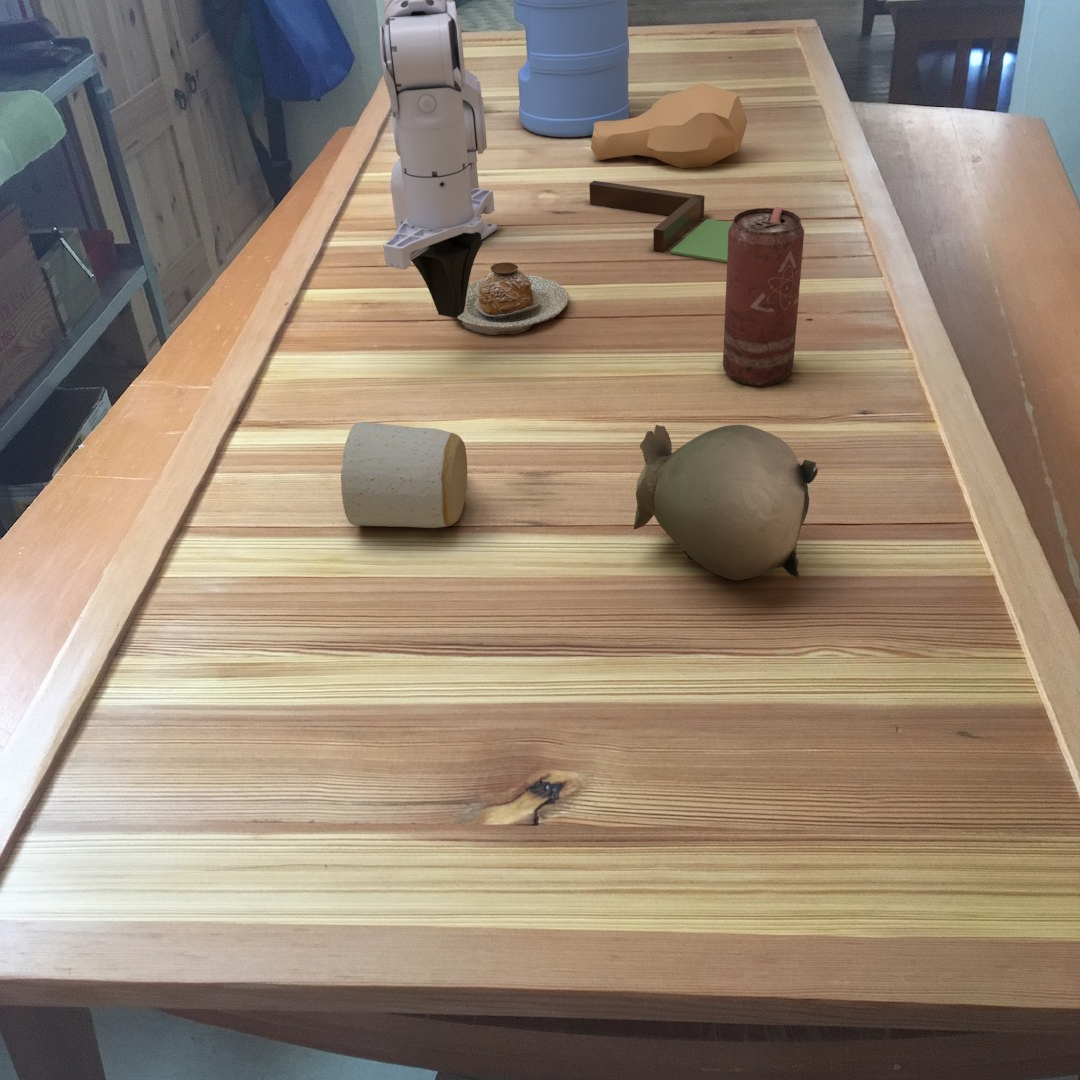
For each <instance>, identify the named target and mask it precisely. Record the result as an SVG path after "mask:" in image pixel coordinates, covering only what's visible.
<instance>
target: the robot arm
mask: <svg viewBox="0 0 1080 1080" xmlns="http://www.w3.org/2000/svg"><path fill="white" fill-rule="evenodd" d="M383 10H384V11H383V12H384V26H383V24H380V25H379V35H378V37H379V38H378V39H379V50H380V51H379V52H380V61H381V68H382V74H383V79H384V82H385V85H386V90H387V93H388V96H389V100H390V101H389V102H390V107H391V119H392V128H393V137H394V138H393V139H394V144H395V151H396V154H397V156H398V157H399V158H398V159H397V160H396V162H395V164H394V165H393V168H392V171H391V175H390V193H391V200H392V208H393V214H394V216H393V217H394V222H395V229H396V232H395V233H394V235H393V236H392V238H390V239H389V240H388V241H387V242H386V243H384V244H383V252H384V260H385V266H386V267H389V268H393V269H400V270H407V269H408V268H410V267H411V266H412V264H413V265H414V267H415V269H417V270H418V272H419V274H420V276H421V277H422V279H423V281H424V283H425V286H426V287H427V289H428V291H429V294H430V296H431V298H432V302H433V304H434V307H435V309H436V311H437V314H438V315H439V316H443V317H448V318H453V319H458V318H457V317H458V316H459V315H461V314H462V313H464V308H465V302H466V296H467V289H468V284H469V283H470V277H471V272H472V269H473V267H474V266H473V265H474V263H475V260H476V257H477V255H478V253H479V251H480V248H481V246H482V244H483V240H484V239H485V238H487V237H488V236H490V235H491V234H493V233H494V232H496V231H497V230H498V224H496V223H489V222H484V219H483V218H482V215H490V214H492V213H494V212H495V199H494V190H489V189H485V188H484V189H483V188H480V187H479V175H478V164H477V163H478V155H482V154H484V152H485V151H486V149H487V147H488V143H487V131H486V130H487V129H486V119H485V106H484V98H483V97H482V86H481V82H480V81H479V80H478V76H476V75H475V74H474V73H472V72H470V71H469V70H468V69H466V67H465V66H466V65H465V58H464V45H463V35H462V33H463V32H462V25H461V22H460V18H459V16H458V12H457V6H456V1H455V0H383Z"/></svg>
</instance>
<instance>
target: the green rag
mask: <svg viewBox="0 0 1080 1080" xmlns="http://www.w3.org/2000/svg"><path fill="white" fill-rule="evenodd" d="M732 223H733V222H730V221H724V220H723V221H722V220H717V219H709V218H706V219H705V220H704V221H703V222H701V223H699V225H698V226H697V227H696V228H694V229H693V230H692V231H691V232H690V233H689V234H688V235H687V236H685V238H683V239H682V240H681V241H680V242H679V243H677V245H676V246H674V247H673V248H672V249H671V250H670V252H669V253H670V254H671V255H677V256H683V257H687V258H695V259H702V260H708V261H714V262H720V263H725V264H727V254H728V230H729V228H730V226H731V224H732Z"/></svg>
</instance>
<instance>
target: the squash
mask: <svg viewBox="0 0 1080 1080" xmlns="http://www.w3.org/2000/svg"><path fill="white" fill-rule="evenodd" d="M747 125H748V119H747V116H746V112H745V110H744V108H743V103H742V101H741V99H740V96H739V94H738V93H737V92H734V91H731V90H727V89H723V88H719V87H717V86H712V85H710V84H706V83H703V82H702V83H699V84H697V85H694V86H692V87H689V88H687V89H684V90H681V91H676V92H672V93H668V94H664V95H663V96H662V97H660V98H659V99H658V100H657V101H656V102H654V103H653V104H652V106H651V107H650V108H649V110H647V111H645V112H643V113H642V114H640V115H638V116H636V117H631V118H630V117H629V118H628V119H623V120H617V121H599V122H596V123H594V131H593V135H591V143H590V149H591V151H592V153H593V155H594V157H595V158H596V160H598V161H604V160H609V159H614V158H619V157H629V156H630V157H631V156H642V157H650V158H655V159H657V160H659V161H660V162H663V163H665V164H668V165H671V166H674V167H678V168H681V169H688V168H706V167H710V166H711V165H713V164H716V163H717V162H719V161H721V160H723V159H725V158H727V157H729V156H731V155H733V154H734V153H736V152H737V151H738V150H740V148H741V146H742V143H743V139H744V135H745V132H746V128H747Z"/></svg>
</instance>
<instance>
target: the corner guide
mask: <svg viewBox="0 0 1080 1080" xmlns="http://www.w3.org/2000/svg"><path fill="white" fill-rule="evenodd" d="M588 186H589V205H592V206H600V207H606V208H614V209H620V210H621V209H622V210H628V211H634V212H640V213H641V212H642V213H648V214H655V215H661V216H667V217H666V218H665V219H664V220H663V221H661V222H660V223H659V224H658V225H656V226H655V227H654V228H653V248H652V249H653V252H659V253H665V252H666V251H667V250H668V249H669V248H670V247H671V246H672V245H674V244H675V243H676V242H677V241H678V240H679V239H681V238H682V237H683V236H684V235H686V233H687V232H688V231H690V230H691V229H692V228H693V227H694V226H695V225H696V224H697V223H699V222H700V221H701V220H702V219H703V218H704V217H705V198H706V197H705V195H703V194H696V193H695V194H694V193H688V192H680V191H672V190H666V189H658V188H652V187H651V188H650V187H644V186H637V185H629V184H622V183H615V182H607V181H600V180H593V181H591V182H590V183H589V184H588Z"/></svg>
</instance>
